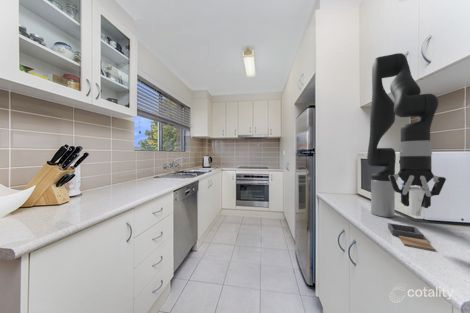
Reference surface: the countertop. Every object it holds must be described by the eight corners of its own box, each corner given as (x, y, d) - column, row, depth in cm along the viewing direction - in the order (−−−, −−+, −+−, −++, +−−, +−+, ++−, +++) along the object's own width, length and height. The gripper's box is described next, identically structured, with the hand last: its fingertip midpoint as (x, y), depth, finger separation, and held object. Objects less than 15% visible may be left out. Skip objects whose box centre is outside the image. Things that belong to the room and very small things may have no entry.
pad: (398, 237, 65) (398, 235, 65) (426, 241, 62) (426, 240, 62) (404, 245, 59) (404, 243, 59) (434, 251, 56) (434, 249, 56)
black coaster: (388, 227, 74) (388, 223, 74) (415, 232, 70) (415, 227, 70) (392, 235, 67) (392, 229, 67) (423, 240, 63) (423, 234, 63)
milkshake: (430, 217, 58) (433, 186, 58) (411, 215, 59) (413, 185, 59) (419, 213, 62) (421, 184, 62) (401, 211, 63) (403, 182, 63)
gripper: (440, 155, 60) (441, 207, 60) (385, 155, 68) (385, 201, 68) (452, 154, 54) (452, 212, 54) (389, 155, 61) (389, 206, 61)
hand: (415, 206), depth 61 cm, fingers closed on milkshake, 4 cm apart
